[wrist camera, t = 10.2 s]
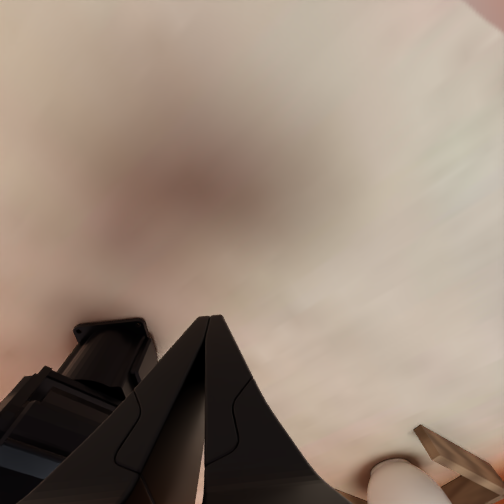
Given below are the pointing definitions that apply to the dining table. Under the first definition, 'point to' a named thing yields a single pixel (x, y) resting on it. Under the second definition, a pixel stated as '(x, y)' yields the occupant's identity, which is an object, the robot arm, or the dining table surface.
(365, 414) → the dining table surface
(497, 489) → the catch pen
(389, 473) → the lidded jar
